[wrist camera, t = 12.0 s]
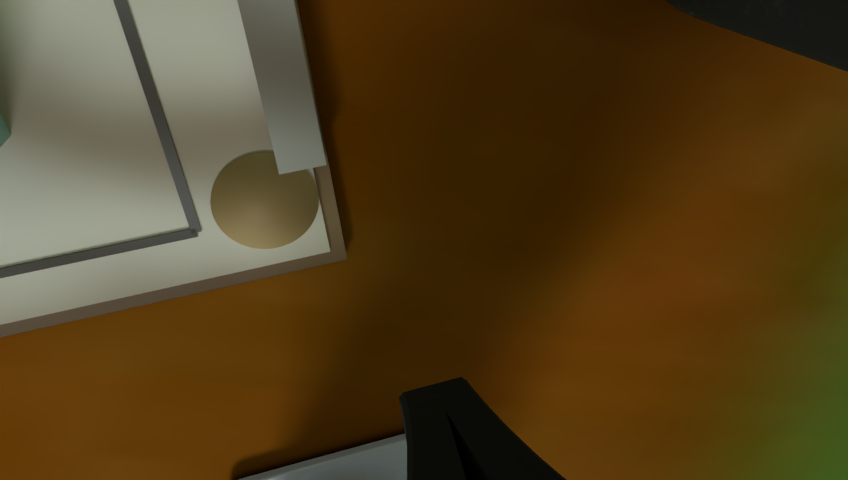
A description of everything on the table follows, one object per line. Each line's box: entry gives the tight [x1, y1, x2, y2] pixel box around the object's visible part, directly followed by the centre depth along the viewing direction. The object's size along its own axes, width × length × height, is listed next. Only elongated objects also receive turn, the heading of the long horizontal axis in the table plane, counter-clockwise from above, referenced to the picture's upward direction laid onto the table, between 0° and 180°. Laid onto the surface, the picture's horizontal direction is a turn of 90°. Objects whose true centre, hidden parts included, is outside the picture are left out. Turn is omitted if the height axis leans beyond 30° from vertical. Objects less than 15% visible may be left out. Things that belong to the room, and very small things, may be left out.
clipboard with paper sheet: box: [0, 0, 347, 337], centre depth 17 cm, size 12×15×1 cm
